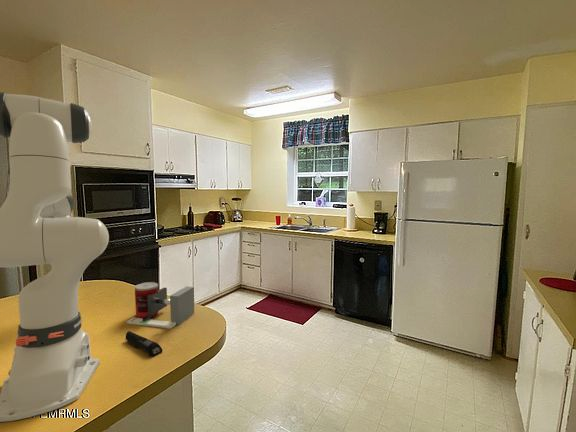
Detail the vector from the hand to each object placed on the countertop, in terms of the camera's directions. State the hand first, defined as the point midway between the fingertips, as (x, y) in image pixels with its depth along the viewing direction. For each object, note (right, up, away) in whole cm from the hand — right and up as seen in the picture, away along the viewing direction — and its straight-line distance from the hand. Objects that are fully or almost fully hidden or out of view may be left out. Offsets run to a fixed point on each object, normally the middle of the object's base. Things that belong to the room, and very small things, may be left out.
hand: (88, 256), depth 104 cm
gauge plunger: (+26, -21, 0) cm, 34 cm away
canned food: (+19, -22, +4) cm, 30 cm away
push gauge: (+26, -22, +1) cm, 34 cm away
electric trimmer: (+29, -24, -19) cm, 42 cm away
